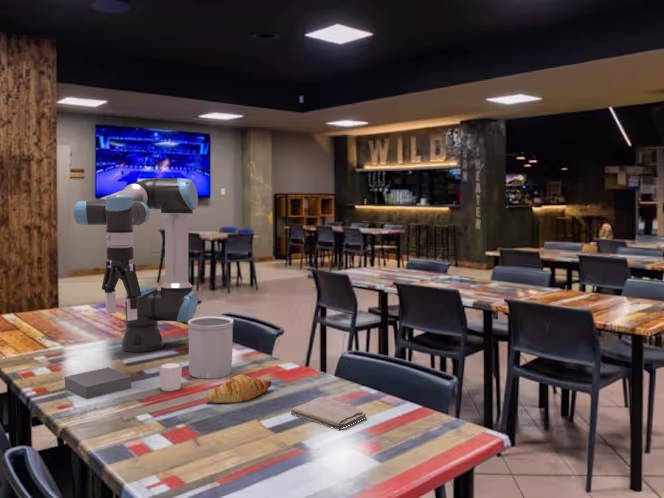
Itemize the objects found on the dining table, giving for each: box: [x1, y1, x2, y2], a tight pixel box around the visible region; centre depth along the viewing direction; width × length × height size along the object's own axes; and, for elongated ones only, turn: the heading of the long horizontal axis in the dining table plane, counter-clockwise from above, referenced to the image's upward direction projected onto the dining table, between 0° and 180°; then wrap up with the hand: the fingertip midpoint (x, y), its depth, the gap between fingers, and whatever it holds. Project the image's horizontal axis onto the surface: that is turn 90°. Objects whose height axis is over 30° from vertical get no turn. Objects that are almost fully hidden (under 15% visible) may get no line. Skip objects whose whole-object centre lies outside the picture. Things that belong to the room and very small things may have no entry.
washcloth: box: [290, 396, 367, 430], centre depth 160 cm, size 12×18×3 cm, turn 51°
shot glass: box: [158, 362, 183, 392], centre depth 182 cm, size 7×7×7 cm
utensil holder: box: [187, 315, 235, 379], centre depth 198 cm, size 15×15×18 cm
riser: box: [64, 366, 132, 400], centre depth 182 cm, size 14×14×4 cm
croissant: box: [204, 373, 272, 404], centre depth 175 cm, size 21×10×8 cm, turn 127°
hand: (121, 316), depth 181 cm, fingers open, 13 cm apart
